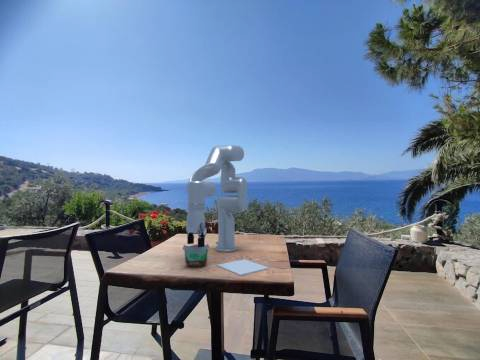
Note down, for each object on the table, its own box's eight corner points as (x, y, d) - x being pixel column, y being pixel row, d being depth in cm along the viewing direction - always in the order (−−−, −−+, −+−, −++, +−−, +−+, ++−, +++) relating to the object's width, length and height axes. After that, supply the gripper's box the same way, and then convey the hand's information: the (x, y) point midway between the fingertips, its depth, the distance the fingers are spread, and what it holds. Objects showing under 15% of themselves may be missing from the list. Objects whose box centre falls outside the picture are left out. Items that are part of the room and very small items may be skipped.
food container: (182, 269, 124) (182, 247, 125) (182, 265, 130) (182, 244, 131) (210, 268, 127) (210, 245, 127) (209, 264, 133) (209, 243, 133)
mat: (216, 266, 130) (217, 264, 130) (243, 260, 139) (243, 259, 139) (241, 276, 115) (241, 274, 115) (269, 268, 125) (269, 267, 125)
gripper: (180, 207, 133) (179, 243, 133) (198, 208, 120) (197, 249, 119) (194, 206, 138) (193, 241, 137) (213, 208, 124) (212, 247, 124)
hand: (195, 245), depth 128 cm, fingers open, 9 cm apart
